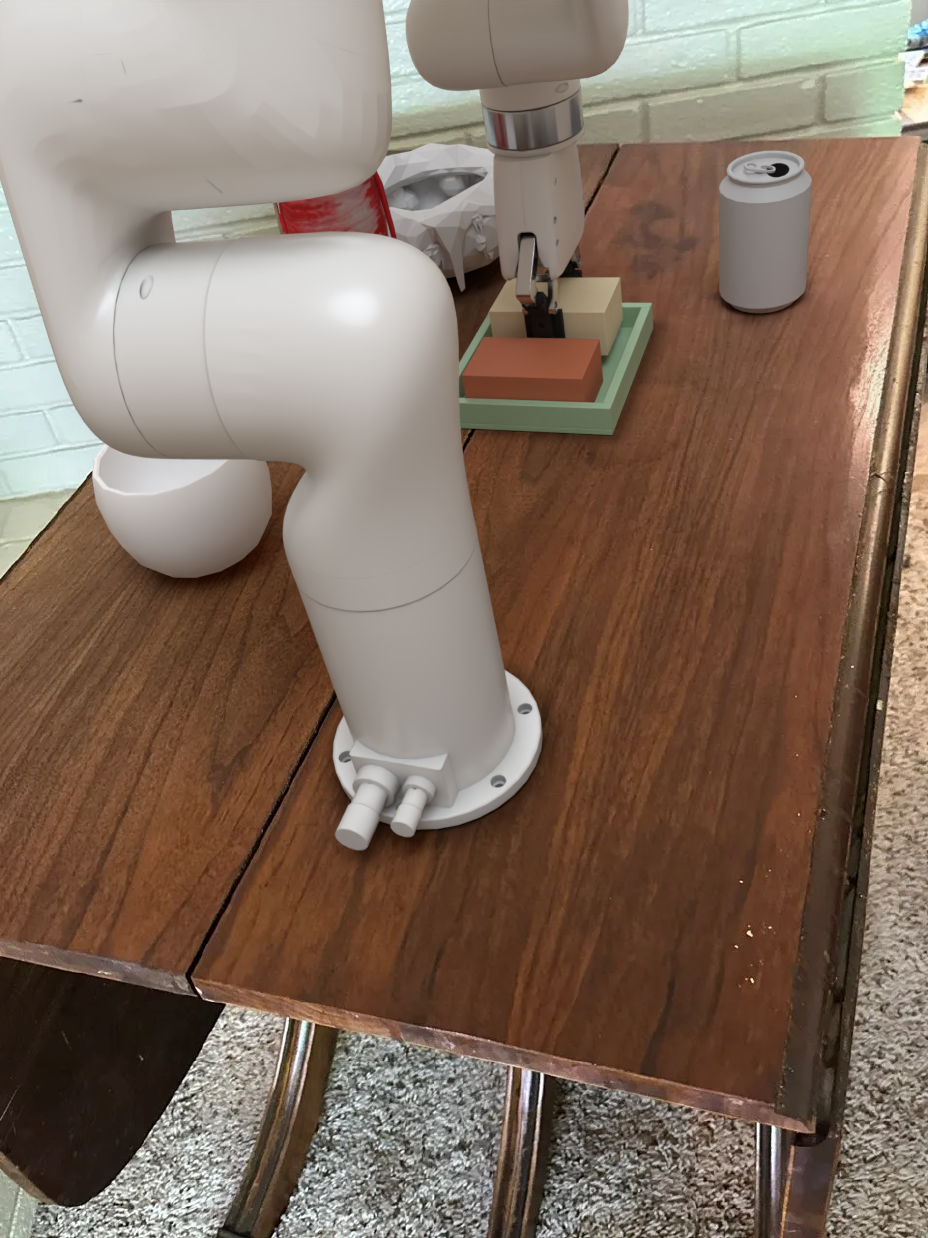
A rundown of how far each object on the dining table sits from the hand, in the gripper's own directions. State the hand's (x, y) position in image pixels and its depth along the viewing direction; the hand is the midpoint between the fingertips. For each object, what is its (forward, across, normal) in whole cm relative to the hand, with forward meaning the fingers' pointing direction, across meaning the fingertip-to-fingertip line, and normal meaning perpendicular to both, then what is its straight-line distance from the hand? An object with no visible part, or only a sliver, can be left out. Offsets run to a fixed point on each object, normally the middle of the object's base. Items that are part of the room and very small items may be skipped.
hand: (557, 330), depth 94 cm
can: (+3, -10, +16) cm, 19 cm away
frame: (+2, +4, 0) cm, 4 cm away
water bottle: (+3, +10, -15) cm, 18 cm away
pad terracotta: (+2, +8, 0) cm, 8 cm away
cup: (+3, +30, -20) cm, 36 cm away
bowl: (+3, -16, -17) cm, 24 cm away
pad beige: (+1, 0, 0) cm, 1 cm away
